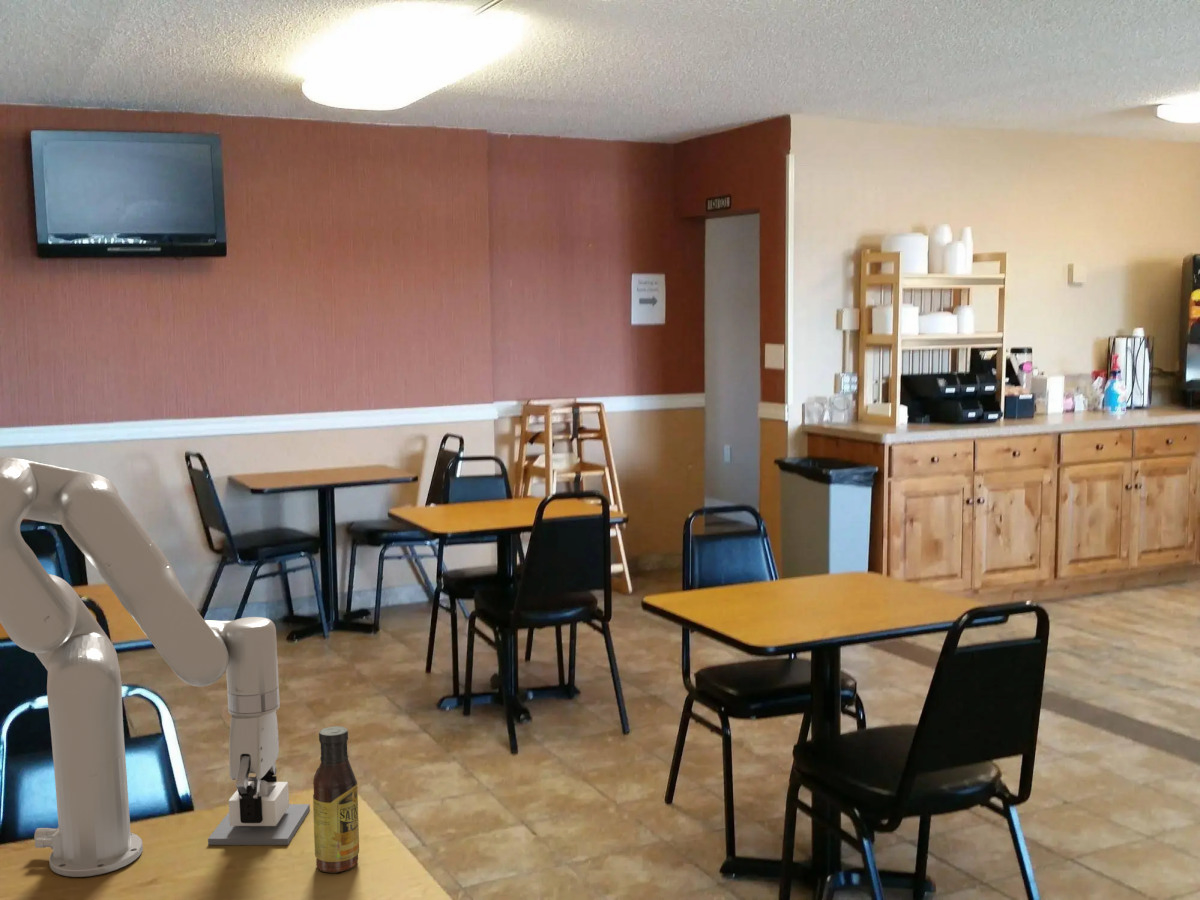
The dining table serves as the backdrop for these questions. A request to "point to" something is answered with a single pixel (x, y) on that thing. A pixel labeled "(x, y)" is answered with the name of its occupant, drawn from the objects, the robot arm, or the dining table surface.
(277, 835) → the post base
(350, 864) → the sauce bottle
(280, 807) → the white block
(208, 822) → the dining table surface
